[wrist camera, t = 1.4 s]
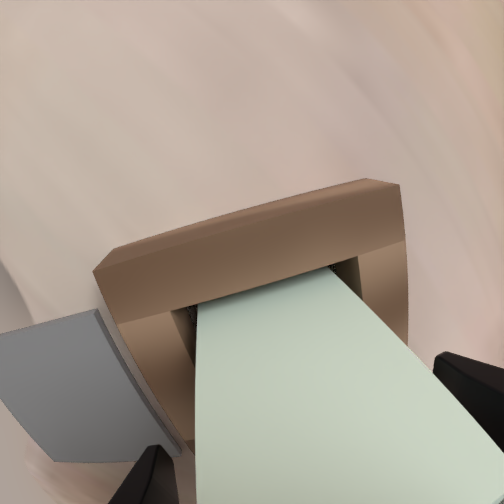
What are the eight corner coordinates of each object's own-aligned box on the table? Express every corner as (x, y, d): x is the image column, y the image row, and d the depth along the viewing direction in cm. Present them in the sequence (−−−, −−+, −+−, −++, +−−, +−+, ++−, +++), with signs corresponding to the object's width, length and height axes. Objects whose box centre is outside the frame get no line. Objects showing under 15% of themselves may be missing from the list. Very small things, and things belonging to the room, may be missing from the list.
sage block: (332, 351, 14) (449, 546, 4) (233, 381, 14) (273, 609, 3) (317, 257, 13) (522, 477, 2) (198, 291, 12) (204, 603, 2)
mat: (181, 450, 15) (181, 456, 15) (55, 456, 15) (54, 461, 14) (97, 308, 12) (93, 313, 11) (-30, 341, 11) (-34, 345, 11)
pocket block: (382, 371, 15) (403, 398, 13) (199, 427, 15) (200, 463, 12) (365, 178, 12) (399, 184, 9) (113, 248, 11) (92, 271, 9)
